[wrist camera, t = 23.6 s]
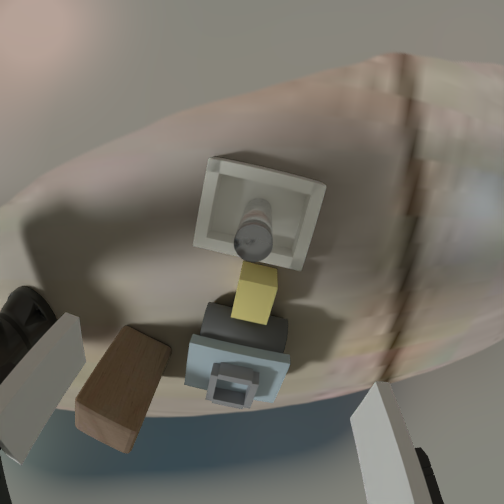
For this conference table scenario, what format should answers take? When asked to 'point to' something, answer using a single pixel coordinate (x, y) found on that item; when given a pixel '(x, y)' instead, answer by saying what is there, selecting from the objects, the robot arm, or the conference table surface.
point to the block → (121, 389)
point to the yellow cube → (255, 293)
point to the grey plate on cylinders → (237, 358)
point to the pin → (255, 231)
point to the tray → (266, 187)
